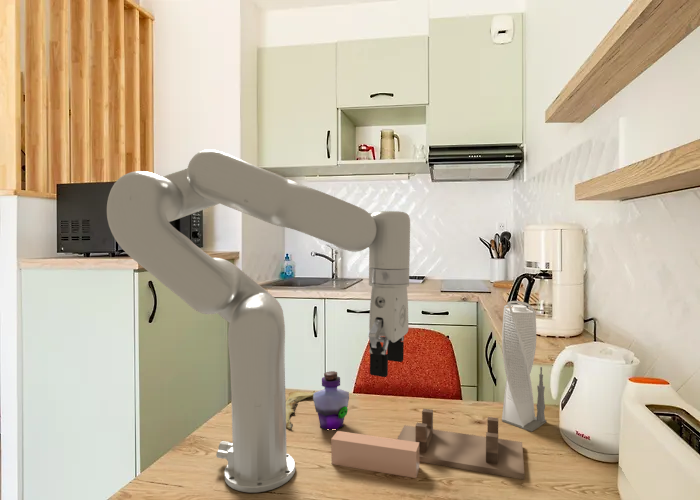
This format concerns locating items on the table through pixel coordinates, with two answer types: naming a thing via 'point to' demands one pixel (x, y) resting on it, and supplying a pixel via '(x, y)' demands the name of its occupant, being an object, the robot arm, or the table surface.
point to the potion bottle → (331, 402)
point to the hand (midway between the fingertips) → (387, 367)
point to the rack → (466, 448)
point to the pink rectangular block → (375, 453)
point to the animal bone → (294, 404)
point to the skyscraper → (520, 367)
